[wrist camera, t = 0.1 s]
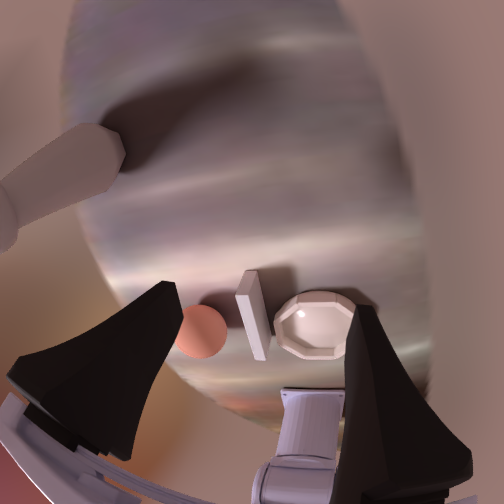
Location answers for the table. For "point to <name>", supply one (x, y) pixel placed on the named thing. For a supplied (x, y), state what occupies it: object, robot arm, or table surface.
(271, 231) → the table surface
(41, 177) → the salt shaker
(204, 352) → the ball
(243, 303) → the wall
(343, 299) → the coaster
